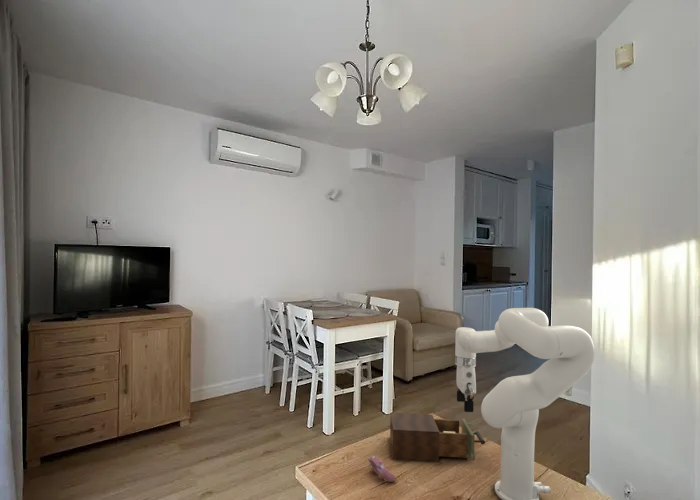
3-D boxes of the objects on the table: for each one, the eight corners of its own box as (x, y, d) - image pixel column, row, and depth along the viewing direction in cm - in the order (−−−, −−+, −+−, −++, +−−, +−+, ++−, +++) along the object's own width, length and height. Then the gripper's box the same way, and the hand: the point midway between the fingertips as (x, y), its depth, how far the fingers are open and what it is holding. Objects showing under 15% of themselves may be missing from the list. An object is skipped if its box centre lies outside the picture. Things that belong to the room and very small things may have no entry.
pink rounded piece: (371, 473, 126) (363, 456, 125) (381, 464, 128) (374, 448, 127) (386, 489, 117) (377, 472, 116) (397, 480, 119) (389, 463, 118)
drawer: (476, 442, 145) (477, 419, 145) (487, 460, 131) (488, 436, 131) (424, 439, 146) (425, 417, 146) (430, 457, 132) (431, 433, 132)
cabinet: (431, 441, 146) (432, 414, 146) (438, 461, 132) (439, 431, 132) (390, 439, 147) (390, 412, 147) (392, 459, 132) (393, 429, 133)
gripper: (483, 367, 130) (482, 416, 130) (468, 355, 148) (467, 398, 147) (462, 367, 130) (461, 415, 130) (449, 354, 148) (449, 397, 147)
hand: (464, 406), depth 138 cm, fingers open, 9 cm apart
